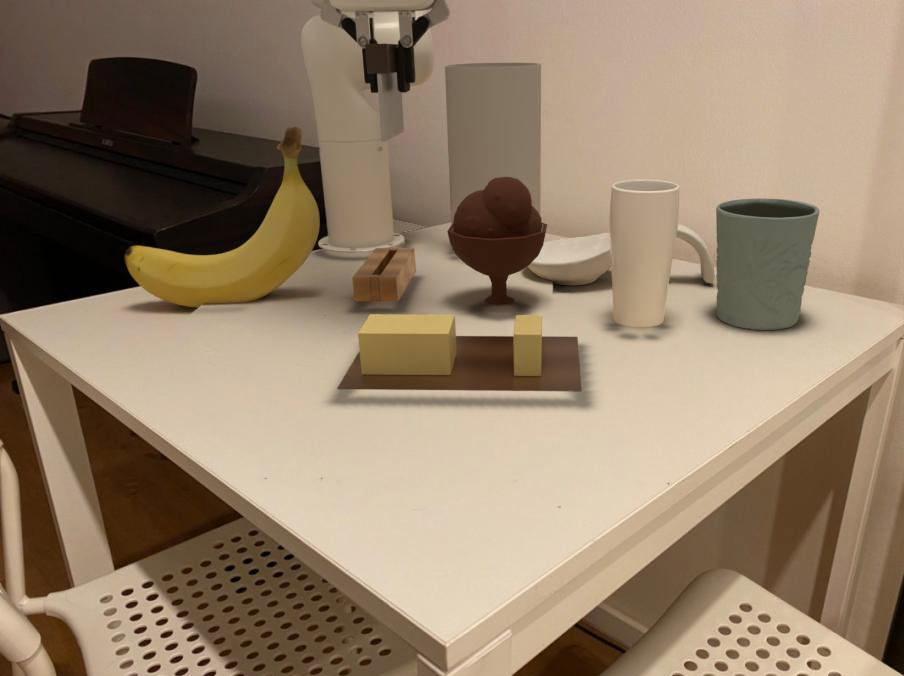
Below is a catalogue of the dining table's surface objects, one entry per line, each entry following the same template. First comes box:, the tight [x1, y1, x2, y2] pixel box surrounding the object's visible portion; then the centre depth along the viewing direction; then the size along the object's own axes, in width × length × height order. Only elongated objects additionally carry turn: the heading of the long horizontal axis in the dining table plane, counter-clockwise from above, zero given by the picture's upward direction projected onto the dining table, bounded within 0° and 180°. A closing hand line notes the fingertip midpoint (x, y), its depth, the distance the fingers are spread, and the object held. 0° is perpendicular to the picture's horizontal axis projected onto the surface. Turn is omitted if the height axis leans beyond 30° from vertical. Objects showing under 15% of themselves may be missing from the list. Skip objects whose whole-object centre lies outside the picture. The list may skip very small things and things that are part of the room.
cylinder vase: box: [444, 62, 542, 250], centre depth 109 cm, size 12×12×25 cm
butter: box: [357, 313, 457, 375], centre depth 73 cm, size 5×8×4 cm, turn 87°
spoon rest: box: [527, 223, 715, 286], centre depth 100 cm, size 24×12×7 cm, turn 85°
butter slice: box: [512, 314, 543, 376], centre depth 72 cm, size 5×2×4 cm, turn 176°
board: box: [336, 335, 583, 393], centre depth 74 cm, size 13×21×1 cm, turn 87°
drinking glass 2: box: [608, 179, 681, 328], centre depth 82 cm, size 7×7×15 cm
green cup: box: [715, 198, 820, 331], centre depth 85 cm, size 10×10×12 cm
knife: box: [365, 44, 405, 142], centre depth 78 cm, size 11×2×8 cm, turn 176°
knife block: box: [351, 247, 417, 302], centre depth 97 cm, size 13×5×4 cm, turn 176°
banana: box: [124, 126, 321, 309], centre depth 90 cm, size 23×6×20 cm, turn 91°
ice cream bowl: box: [446, 177, 548, 306], centre depth 88 cm, size 11×11×15 cm
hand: (390, 90), depth 78 cm, fingers closed on knife, 2 cm apart
